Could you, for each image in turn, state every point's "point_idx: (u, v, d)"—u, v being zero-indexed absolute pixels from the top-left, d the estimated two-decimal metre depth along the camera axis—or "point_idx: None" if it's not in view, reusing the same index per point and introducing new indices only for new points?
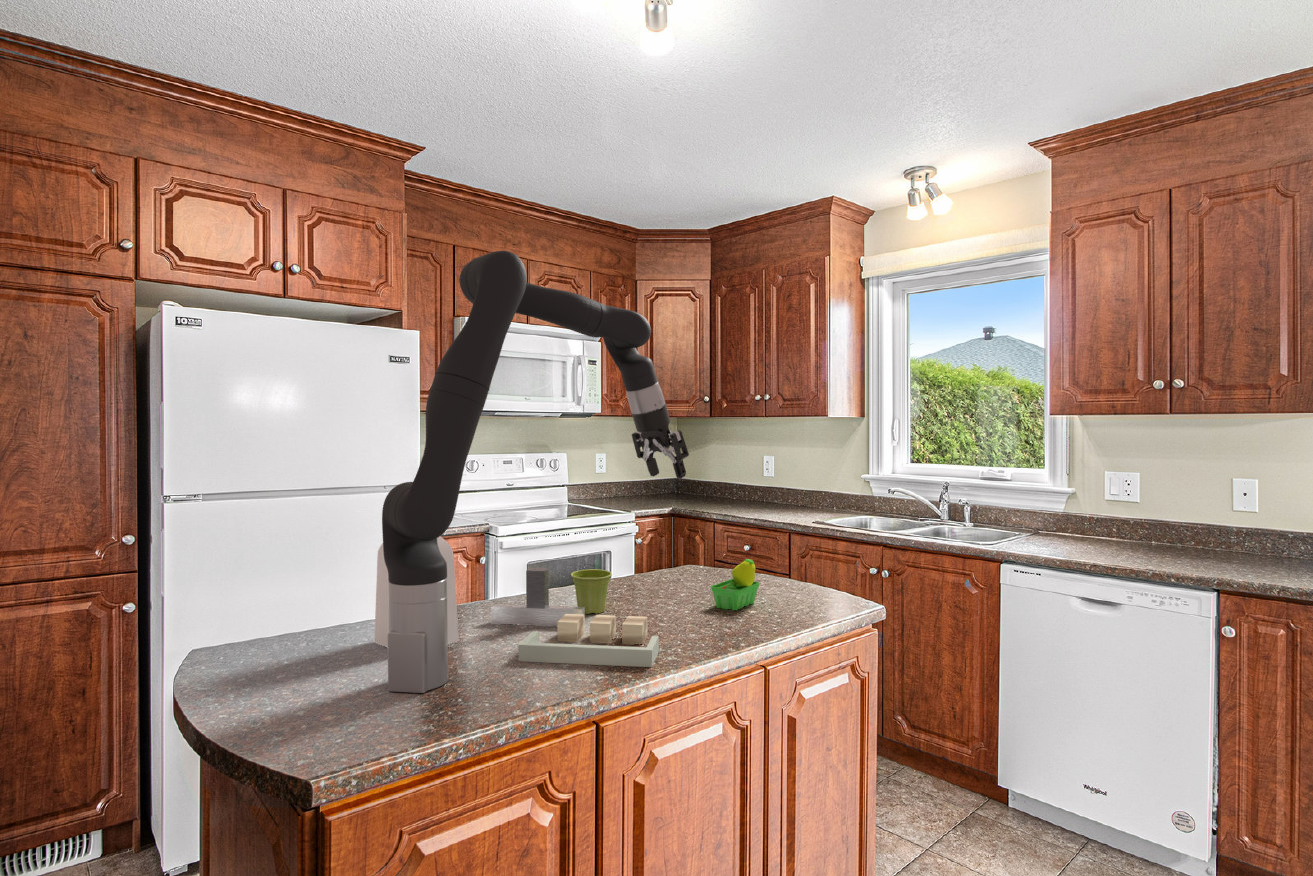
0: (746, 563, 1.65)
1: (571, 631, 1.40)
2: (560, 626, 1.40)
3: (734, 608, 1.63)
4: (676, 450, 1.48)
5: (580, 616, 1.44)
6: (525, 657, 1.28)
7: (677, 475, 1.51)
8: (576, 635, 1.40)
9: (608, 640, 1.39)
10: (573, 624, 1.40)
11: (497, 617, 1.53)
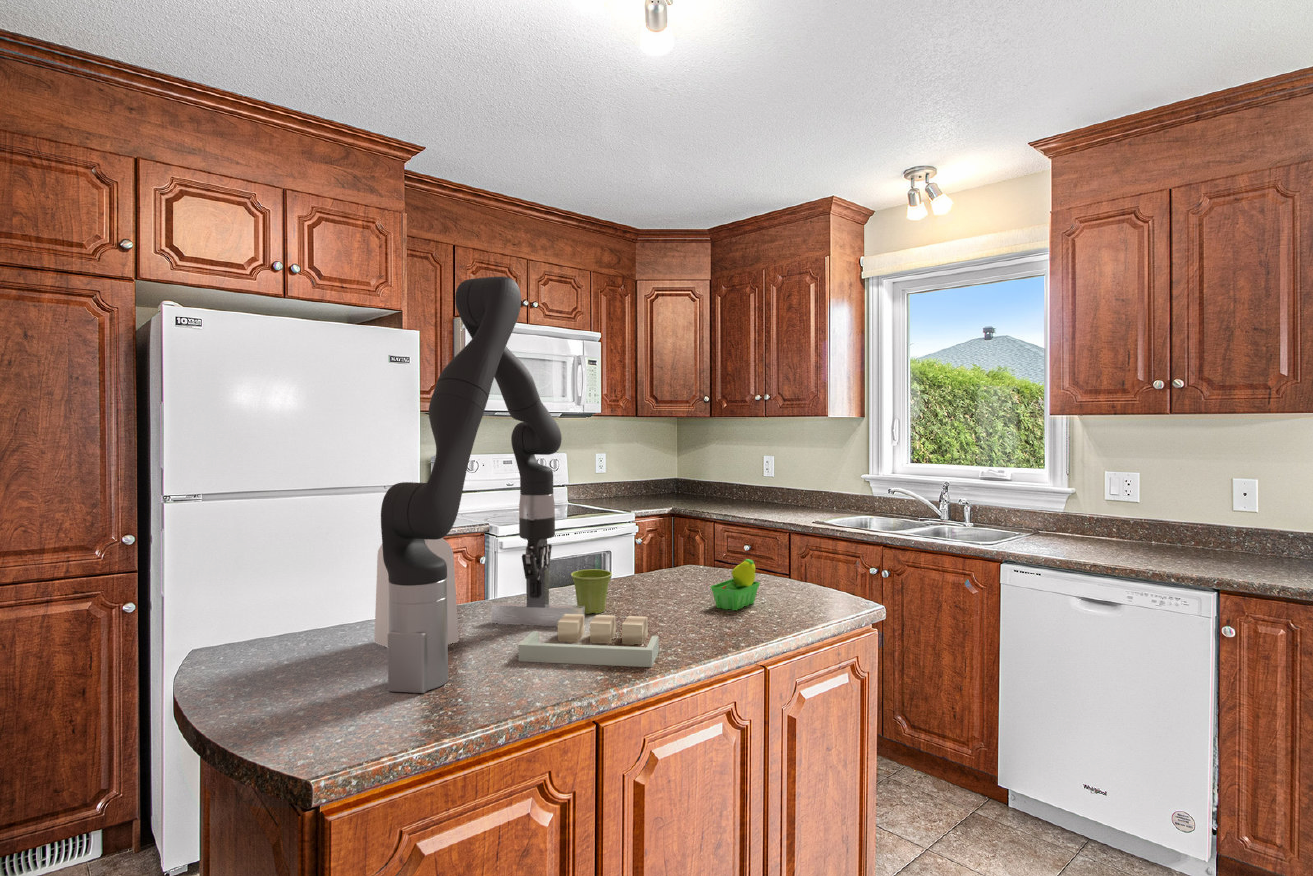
0: (746, 563, 1.65)
1: (572, 631, 1.40)
2: (560, 626, 1.40)
3: (734, 608, 1.63)
4: None
5: (580, 616, 1.44)
6: (525, 657, 1.28)
7: (530, 593, 1.51)
8: (577, 635, 1.40)
9: (608, 640, 1.39)
10: (573, 624, 1.40)
11: (497, 616, 1.53)
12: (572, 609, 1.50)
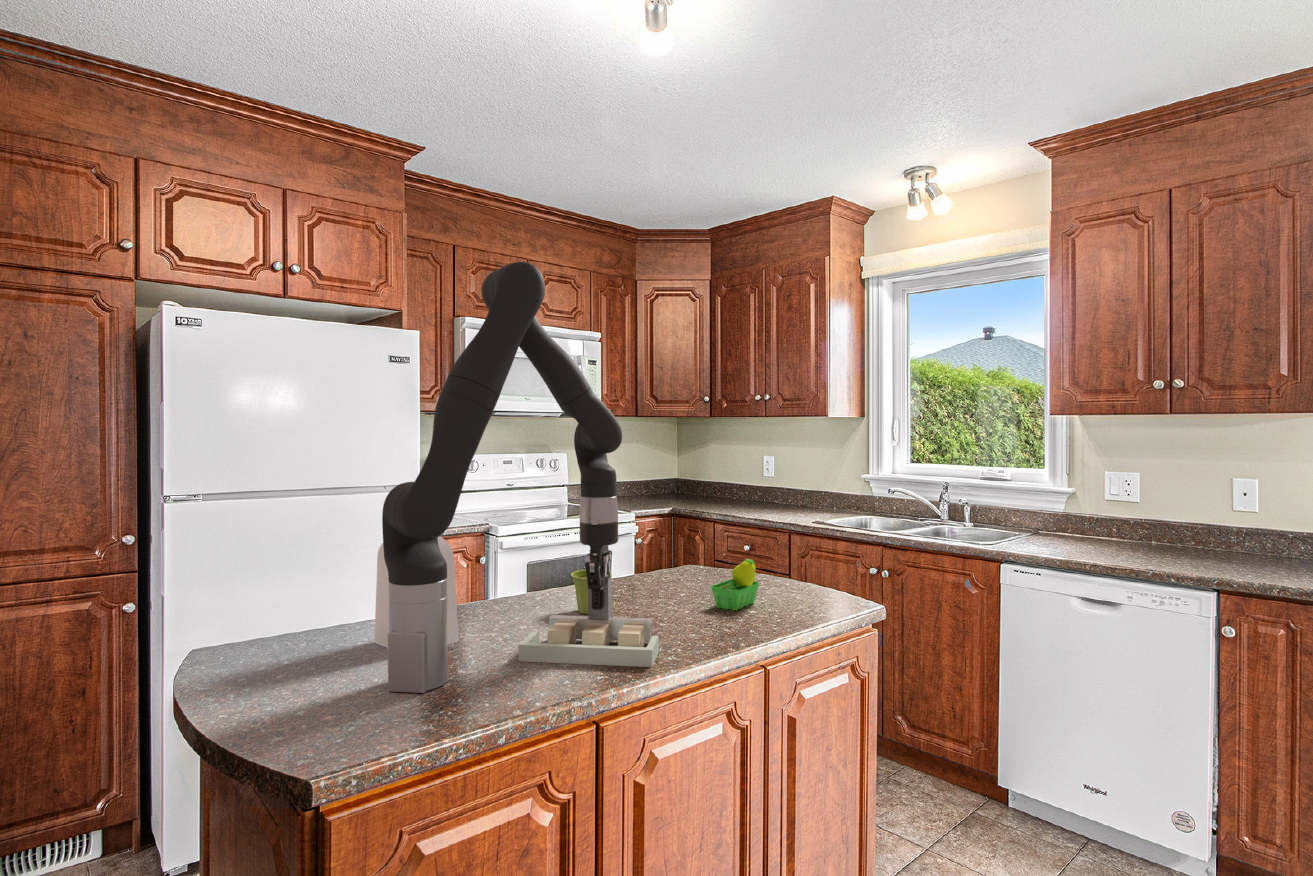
0: (746, 563, 1.65)
1: (562, 640, 1.34)
2: (550, 635, 1.34)
3: (734, 608, 1.63)
4: None
5: (571, 624, 1.38)
6: (525, 657, 1.28)
7: (592, 604, 1.38)
8: None
9: None
10: (564, 633, 1.34)
11: None
12: (638, 622, 1.38)
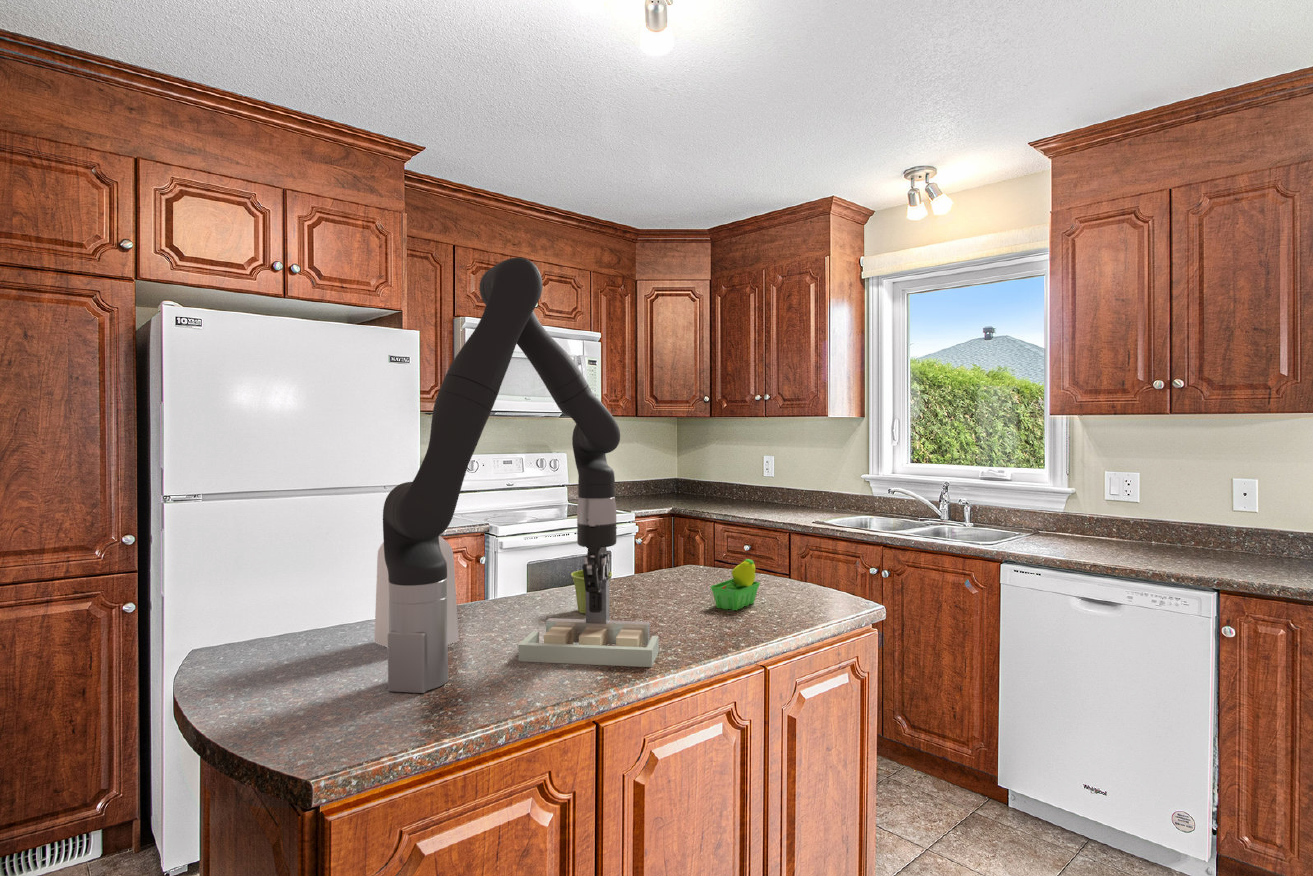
0: (746, 563, 1.65)
1: None
2: (546, 640, 1.32)
3: (734, 608, 1.63)
4: None
5: (568, 628, 1.36)
6: (525, 657, 1.28)
7: None
8: None
9: None
10: (560, 638, 1.31)
11: None
12: (637, 625, 1.35)
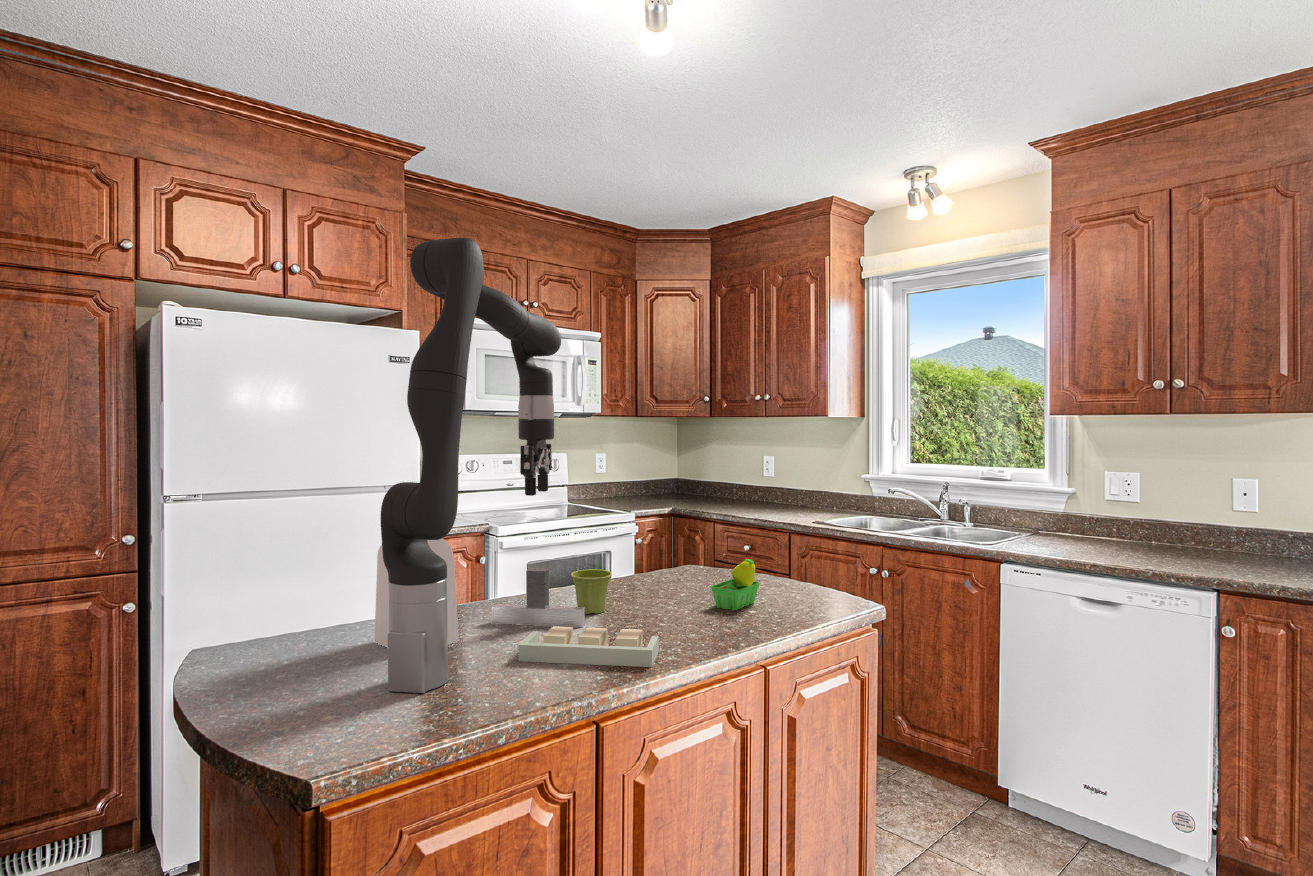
0: (746, 563, 1.65)
1: None
2: (546, 640, 1.31)
3: (734, 608, 1.63)
4: None
5: (568, 629, 1.35)
6: (525, 657, 1.28)
7: (525, 491, 1.48)
8: None
9: None
10: (560, 639, 1.31)
11: (497, 617, 1.53)
12: (572, 610, 1.50)
